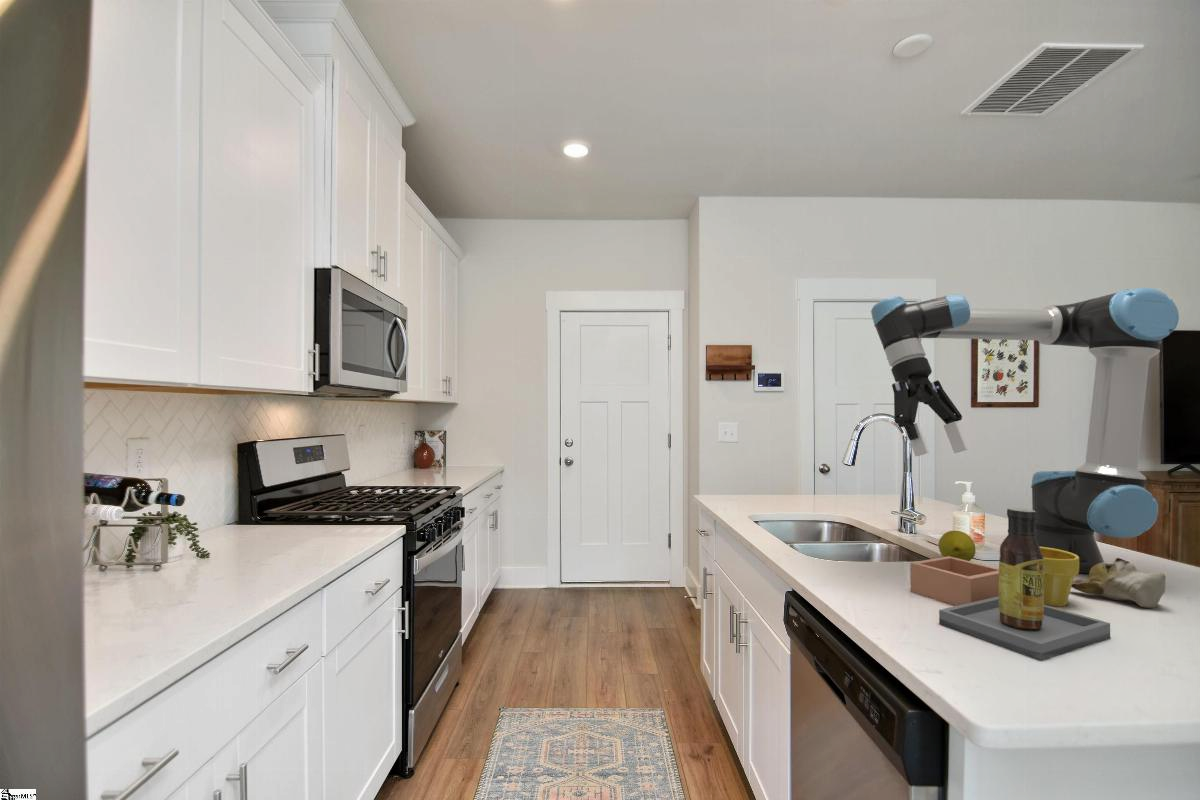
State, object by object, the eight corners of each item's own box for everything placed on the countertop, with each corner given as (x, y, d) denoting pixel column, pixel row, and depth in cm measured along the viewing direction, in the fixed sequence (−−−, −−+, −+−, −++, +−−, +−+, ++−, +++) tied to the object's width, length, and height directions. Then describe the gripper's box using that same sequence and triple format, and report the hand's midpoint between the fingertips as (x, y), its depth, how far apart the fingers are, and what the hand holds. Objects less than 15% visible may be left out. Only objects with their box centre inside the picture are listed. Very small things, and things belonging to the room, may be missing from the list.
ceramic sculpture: (1148, 567, 105) (1057, 553, 118) (1152, 615, 104) (1060, 595, 118) (1179, 562, 109) (1088, 549, 122) (1183, 608, 108) (1091, 590, 122)
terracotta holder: (948, 583, 123) (948, 556, 123) (1010, 601, 112) (1009, 571, 112) (910, 591, 118) (910, 562, 118) (970, 610, 107) (970, 578, 107)
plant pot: (1093, 612, 106) (1092, 560, 106) (1030, 608, 108) (1030, 557, 108) (1059, 594, 116) (1059, 546, 116) (1003, 591, 118) (1003, 544, 118)
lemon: (943, 556, 146) (943, 525, 146) (979, 561, 141) (979, 529, 141) (933, 564, 138) (933, 532, 138) (970, 571, 133) (970, 537, 133)
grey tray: (1007, 607, 108) (1007, 594, 108) (1110, 638, 94) (1110, 623, 94) (939, 623, 100) (939, 609, 100) (1040, 660, 85) (1040, 644, 85)
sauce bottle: (1029, 634, 93) (1028, 513, 93) (990, 621, 99) (989, 507, 99) (1053, 628, 95) (1051, 511, 96) (1013, 615, 101) (1012, 505, 101)
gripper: (927, 370, 136) (959, 454, 129) (857, 368, 124) (889, 460, 118) (956, 357, 130) (992, 445, 123) (886, 353, 118) (921, 450, 111)
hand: (942, 453), depth 120 cm, fingers open, 13 cm apart
